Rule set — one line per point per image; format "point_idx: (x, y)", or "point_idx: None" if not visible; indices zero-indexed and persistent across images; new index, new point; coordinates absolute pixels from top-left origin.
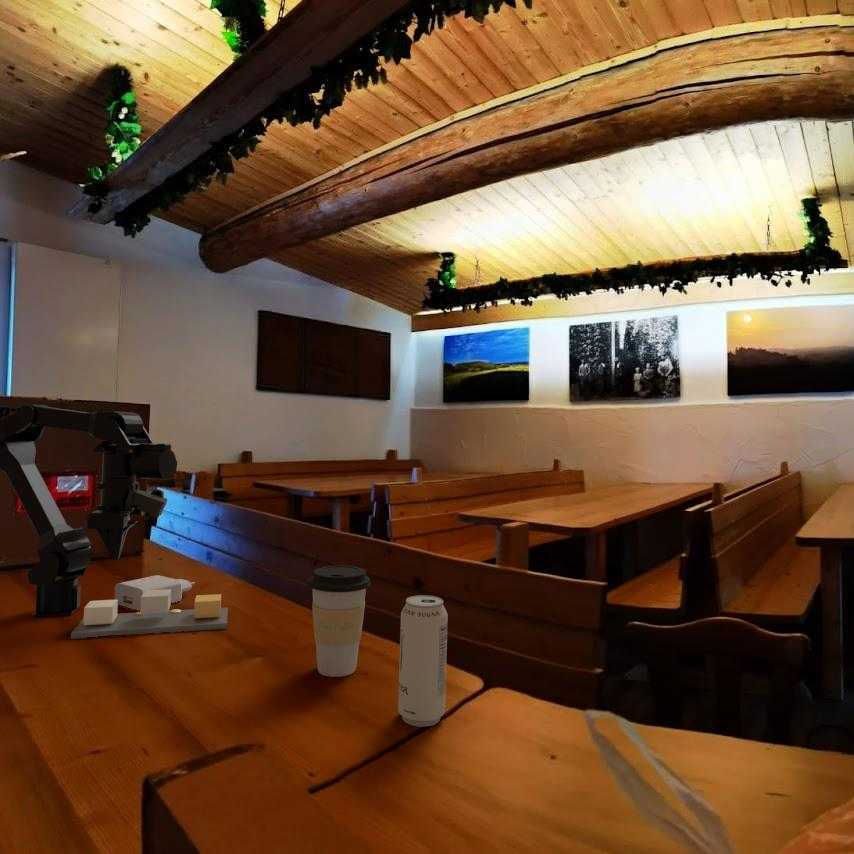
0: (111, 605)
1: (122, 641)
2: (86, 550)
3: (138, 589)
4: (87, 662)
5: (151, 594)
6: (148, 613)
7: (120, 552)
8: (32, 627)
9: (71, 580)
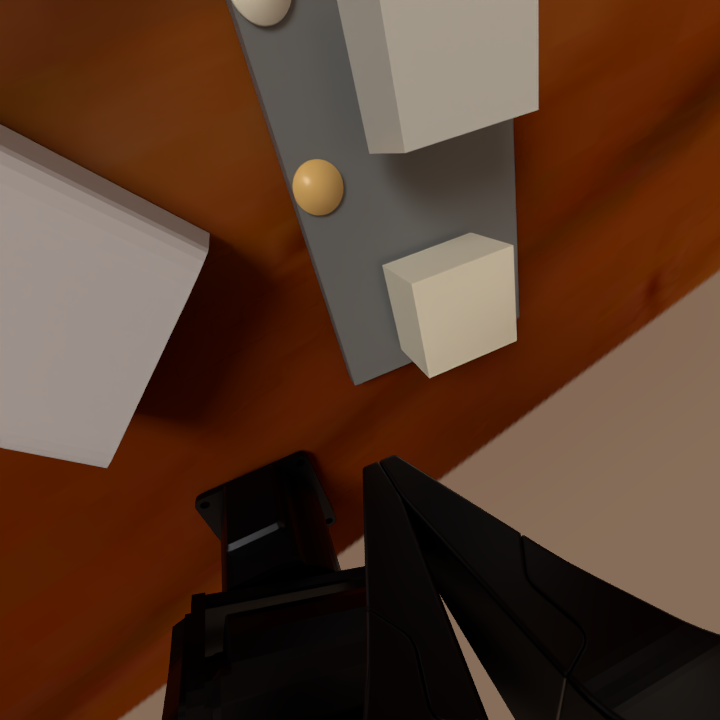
0: (499, 258)
1: (551, 134)
2: (274, 713)
3: (189, 293)
4: (680, 158)
5: (493, 60)
6: (307, 151)
7: (386, 495)
8: (406, 461)
9: (291, 567)
